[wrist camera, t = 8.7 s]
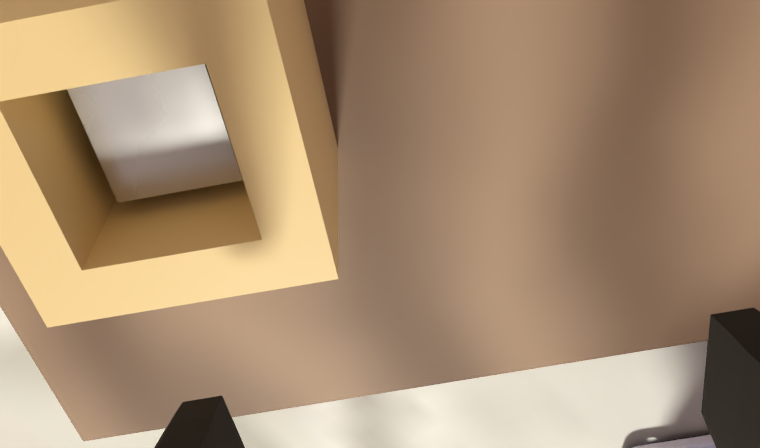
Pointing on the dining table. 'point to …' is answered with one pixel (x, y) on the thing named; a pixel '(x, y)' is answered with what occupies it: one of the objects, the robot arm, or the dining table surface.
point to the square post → (158, 132)
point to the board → (472, 212)
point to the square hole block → (175, 210)
